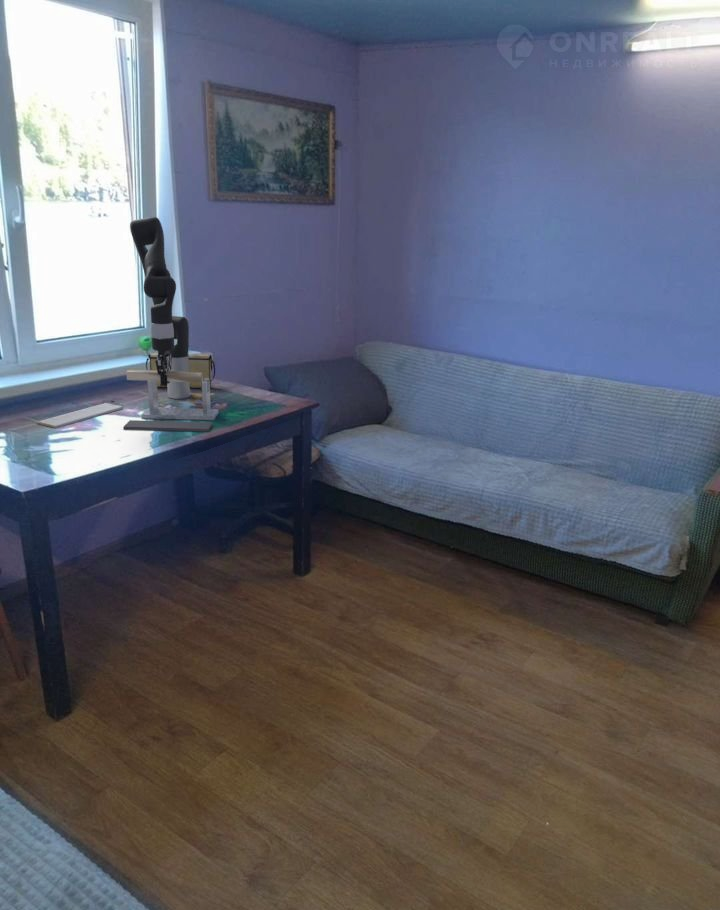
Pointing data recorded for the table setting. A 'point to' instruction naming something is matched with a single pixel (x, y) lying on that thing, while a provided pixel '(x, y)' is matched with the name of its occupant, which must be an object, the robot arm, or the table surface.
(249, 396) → the table surface
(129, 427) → the rubber mat
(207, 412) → the hook rack
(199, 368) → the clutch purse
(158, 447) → the table surface
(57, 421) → the baseboard molding
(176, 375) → the birch rail
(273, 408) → the table surface
